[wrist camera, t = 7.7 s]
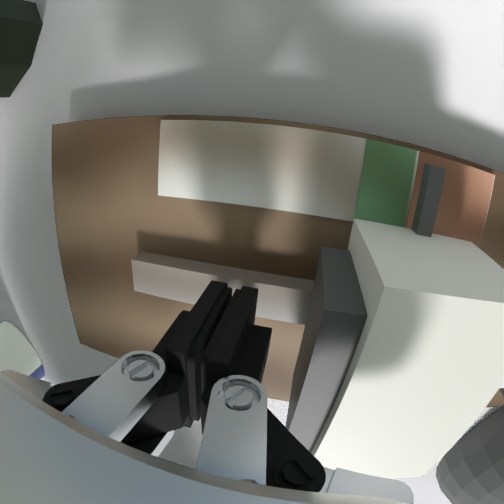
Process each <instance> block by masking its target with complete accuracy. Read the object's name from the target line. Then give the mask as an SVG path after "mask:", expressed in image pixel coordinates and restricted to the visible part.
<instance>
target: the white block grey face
mask: <svg viewBox="0 0 504 504" xmlns="http://www.w3.org/2000/svg"><path fill="white" fill-rule="evenodd" d="M445 170H446V169H444V168H441V167H437V166H434V165H430V164H426V163H424V168H423V174H422V180H421V185H420V191H419V196H418V201H417V206H416V210H415V215H414V219H413V224H412V228H411V229H408V228H403V227H398V226H393V225H388V224H382V223H377V222H372V221H366V220H360V219H355V218H354V220H353V225H352V230H351V235H350V240H349V245H348V250H344V249H337V248H331V247H325V246H321V250H320V255H319V261H318V266H317V271H316V276H315V281H314V286H313V291H312V296H311V301H310V305H309V310H308V314H307V319H306V323H305V328H304V332H303V336H302V341H301V345H300V349H299V353H298V357H297V361H296V365H295V369H294V373H293V380H292V387H291V394H290V401H289V408H288V415H287V421H286V428H287V429H288V430H289V431H290V433H291V434H292V435H293V436H294V437H295V438H296V439H297V440H298V441H299V442H300V443H301V444H302V445H303V446H304V447H305V448H306V449H307V450H308V451H309V452H310V453H311V454H312V455H313V456H315V457H316V458H317V459H318V460H319V462H320V463H321V464H322V465H323V467H326V468H329V469H333V470H335V469H336V468H341V469H345V470H349V471H353V472H358V473H362V474H367V475H372V476H377V477H382V478H387V479H392V478H408V477H419V476H424V475H425V474H426V473H427V472H428V471H429V470H430V469H431V468H432V467H433V466H434V465H435V464H436V463H437V462H438V461H439V460H440V459H441V458H442V457H443V456H444V455H445V454H446V453H447V452H448V451H449V450H450V449H451V448H452V447H453V446H454V444H455V443H456V442H457V441H458V440H459V439H460V438H461V437H462V436H463V434H464V433H465V432H466V431H467V430H468V429H469V427H470V426H471V425H472V424H473V423H474V421H475V420H476V419H477V418H478V416H479V415H480V414H481V412H482V411H483V410H484V409H485V407H486V406H487V405H488V403H489V402H490V401H491V399H492V398H493V396H494V395H495V394H496V392H497V391H498V389H499V388H504V269H503V268H502V267H501V266H500V265H498V264H497V263H496V262H495V261H494V260H493V259H491V258H490V257H489V256H488V255H487V254H486V253H484V252H483V251H482V250H481V249H480V248H478V247H477V246H476V245H475V244H473V243H472V242H469V241H465V240H460V239H456V238H451V237H447V236H442V235H438V234H433V233H432V232H433V228H434V224H435V220H436V215H437V211H438V206H439V202H440V197H441V192H442V187H443V181H444V176H445Z"/></svg>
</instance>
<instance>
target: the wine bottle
mask: <svg viewBox="0 0 504 504" xmlns="http://www.w3.org/2000/svg"><path fill="white" fill-rule="evenodd" d="M42 25H43V24H42V21H41V19H40V16H39V13H38V10H37V7H36V4H35V3H33V2H28V1H24V0H0V97H10V95H11V94H12V92H13V91H14V89H15V88H16V86H17V85H18V83H19V82H20V80H21V79H22V77H23V76H24V75H25V73H26V72H27V70H28V69H29V68H30V66H31V63H32V59H33V55H34V51H35V48H36V44H37V41H38V37H39V34H40V31H41V28H42Z"/></svg>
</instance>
